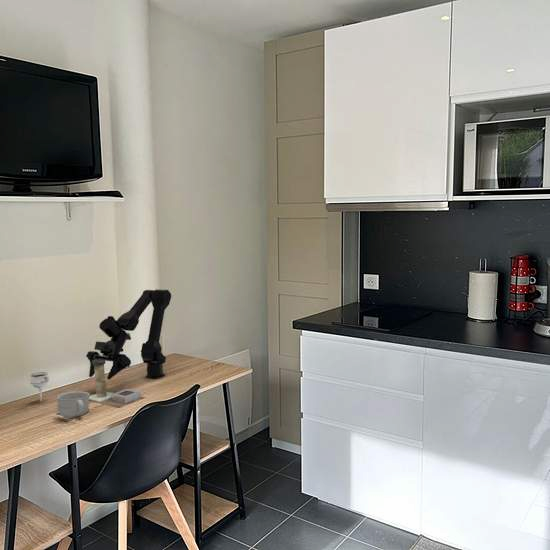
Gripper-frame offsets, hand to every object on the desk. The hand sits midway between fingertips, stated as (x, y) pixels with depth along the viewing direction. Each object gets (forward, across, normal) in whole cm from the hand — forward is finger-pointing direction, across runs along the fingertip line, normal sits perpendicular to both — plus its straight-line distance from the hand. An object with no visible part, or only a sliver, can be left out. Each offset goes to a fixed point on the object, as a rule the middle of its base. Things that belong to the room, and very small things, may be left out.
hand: (98, 377), depth 213 cm
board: (+6, +5, +7) cm, 11 cm away
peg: (+5, 0, +6) cm, 7 cm away
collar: (+4, +11, +7) cm, 14 cm away
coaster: (+5, 0, +6) cm, 8 cm away
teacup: (+19, +4, -6) cm, 20 cm away
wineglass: (+15, -19, -2) cm, 24 cm away
